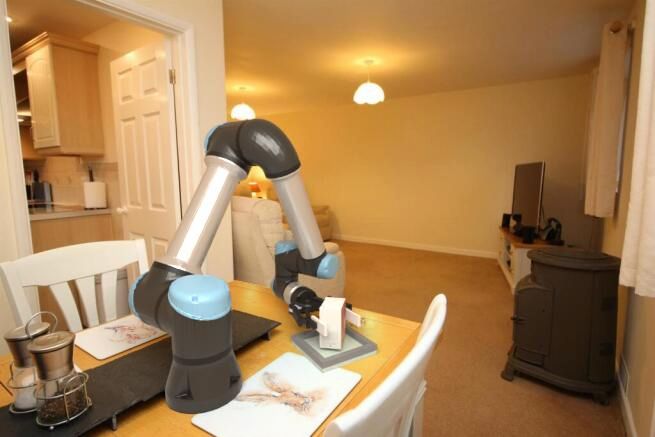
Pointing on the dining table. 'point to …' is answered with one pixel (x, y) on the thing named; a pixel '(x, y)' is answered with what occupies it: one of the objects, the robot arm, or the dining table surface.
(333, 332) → the small box
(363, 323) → the dice set
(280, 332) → the dining table surface
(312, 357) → the tray
